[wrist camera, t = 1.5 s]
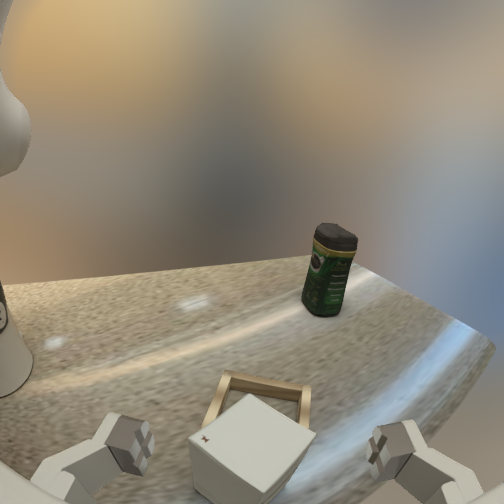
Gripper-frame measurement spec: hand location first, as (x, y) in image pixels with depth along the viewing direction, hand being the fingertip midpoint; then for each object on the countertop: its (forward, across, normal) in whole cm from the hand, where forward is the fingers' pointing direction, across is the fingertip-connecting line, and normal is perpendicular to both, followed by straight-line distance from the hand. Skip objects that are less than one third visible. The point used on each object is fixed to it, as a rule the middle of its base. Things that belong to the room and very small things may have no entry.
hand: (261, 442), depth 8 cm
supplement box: (+9, +2, +22) cm, 24 cm away
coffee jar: (+52, -13, +19) cm, 57 cm away
